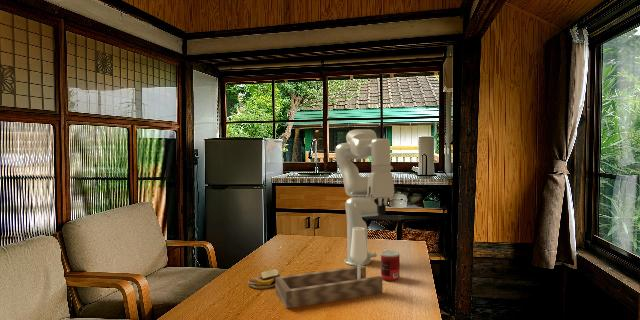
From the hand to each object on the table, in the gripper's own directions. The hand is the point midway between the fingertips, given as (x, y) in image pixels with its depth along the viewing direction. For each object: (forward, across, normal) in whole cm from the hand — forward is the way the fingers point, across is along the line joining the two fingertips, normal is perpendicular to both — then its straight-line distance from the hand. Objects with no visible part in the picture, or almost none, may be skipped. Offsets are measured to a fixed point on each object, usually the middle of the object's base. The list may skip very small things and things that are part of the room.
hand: (381, 214), depth 158 cm
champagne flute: (+29, +10, -1) cm, 30 cm away
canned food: (+29, -7, -6) cm, 30 cm away
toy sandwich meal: (+29, +44, -20) cm, 56 cm away
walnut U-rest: (+29, +23, -1) cm, 37 cm away
